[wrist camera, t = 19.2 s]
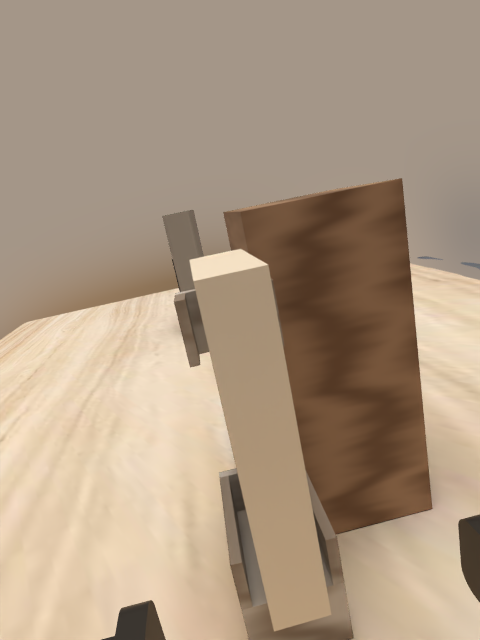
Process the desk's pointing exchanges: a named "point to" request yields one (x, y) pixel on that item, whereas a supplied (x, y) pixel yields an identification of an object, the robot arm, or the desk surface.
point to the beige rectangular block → (262, 431)
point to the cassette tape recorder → (183, 245)
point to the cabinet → (333, 376)
